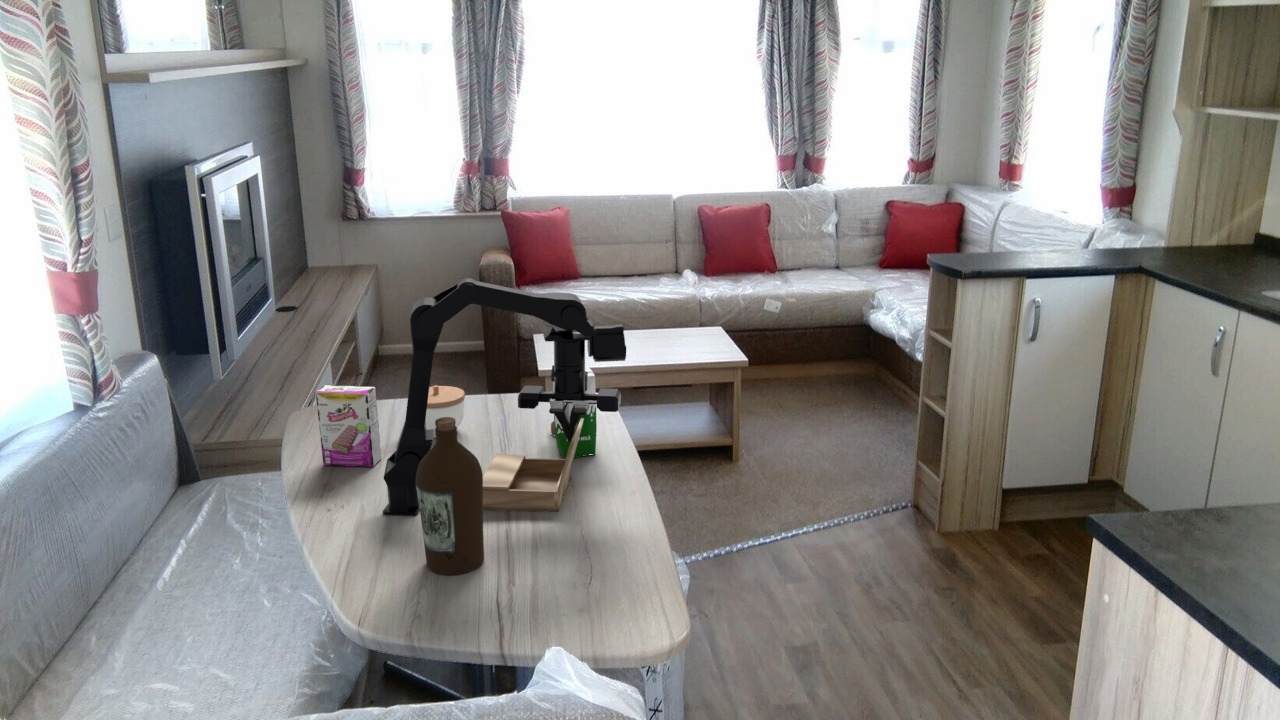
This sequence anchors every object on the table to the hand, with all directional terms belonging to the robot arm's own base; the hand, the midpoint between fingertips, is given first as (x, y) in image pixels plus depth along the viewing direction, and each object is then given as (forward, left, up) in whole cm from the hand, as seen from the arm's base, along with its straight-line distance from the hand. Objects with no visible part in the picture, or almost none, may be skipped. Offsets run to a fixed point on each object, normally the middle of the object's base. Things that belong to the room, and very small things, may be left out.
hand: (570, 441), depth 180 cm
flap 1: (0, +13, -7) cm, 15 cm away
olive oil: (-28, +15, -11) cm, 34 cm away
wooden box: (0, +9, -11) cm, 14 cm away
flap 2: (0, 0, -2) cm, 2 cm away
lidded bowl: (+32, +35, -11) cm, 49 cm away
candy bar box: (+13, +48, -11) cm, 51 cm away
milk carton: (+22, +2, -11) cm, 25 cm away
